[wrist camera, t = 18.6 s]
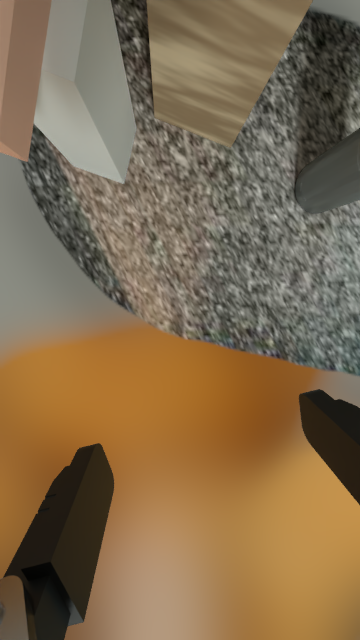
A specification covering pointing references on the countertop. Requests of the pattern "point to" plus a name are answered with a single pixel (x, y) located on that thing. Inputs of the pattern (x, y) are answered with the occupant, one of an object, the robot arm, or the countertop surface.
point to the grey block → (86, 89)
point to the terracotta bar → (20, 70)
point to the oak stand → (216, 59)
